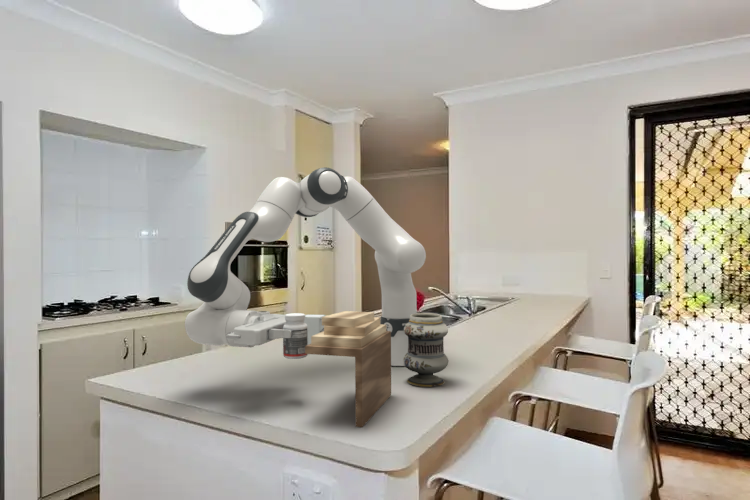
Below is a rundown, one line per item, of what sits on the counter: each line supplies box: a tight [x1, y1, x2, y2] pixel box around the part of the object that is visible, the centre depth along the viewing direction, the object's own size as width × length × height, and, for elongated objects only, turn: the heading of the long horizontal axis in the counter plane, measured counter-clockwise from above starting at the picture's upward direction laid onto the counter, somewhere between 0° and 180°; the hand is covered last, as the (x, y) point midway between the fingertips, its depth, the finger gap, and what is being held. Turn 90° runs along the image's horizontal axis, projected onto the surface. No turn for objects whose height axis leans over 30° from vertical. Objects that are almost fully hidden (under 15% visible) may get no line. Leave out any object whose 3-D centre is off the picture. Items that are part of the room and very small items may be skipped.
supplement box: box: [304, 314, 326, 345], centre depth 167 cm, size 7×7×13 cm
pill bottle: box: [282, 312, 309, 360], centre depth 113 cm, size 6×6×10 cm
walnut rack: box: [305, 331, 392, 428], centre depth 108 cm, size 12×22×16 cm, turn 163°
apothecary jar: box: [403, 312, 449, 388], centre depth 129 cm, size 12×12×18 cm
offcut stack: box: [311, 310, 386, 348], centre depth 108 cm, size 11×19×5 cm, turn 163°
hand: (298, 330), depth 112 cm, fingers closed on pill bottle, 6 cm apart
